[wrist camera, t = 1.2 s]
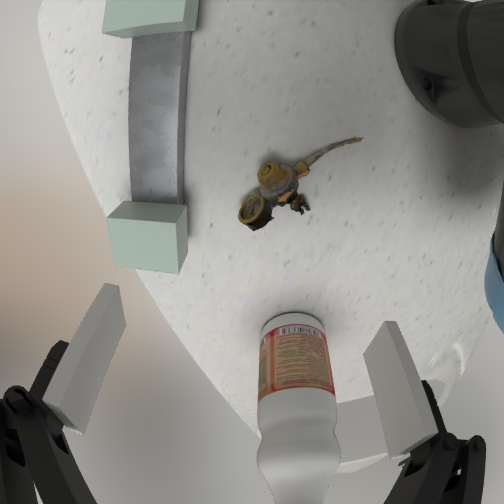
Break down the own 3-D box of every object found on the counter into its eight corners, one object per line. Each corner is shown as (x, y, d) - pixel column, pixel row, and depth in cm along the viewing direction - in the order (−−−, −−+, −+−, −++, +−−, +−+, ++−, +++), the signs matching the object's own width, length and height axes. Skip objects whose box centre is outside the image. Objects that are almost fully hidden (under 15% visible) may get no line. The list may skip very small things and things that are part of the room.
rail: (197, -11, 17) (190, -19, 15) (184, 239, 32) (179, 251, 30) (149, -5, 17) (139, -11, 15) (145, 235, 32) (137, 246, 30)
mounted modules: (202, -19, 15) (191, -35, 12) (188, 252, 30) (178, 274, 27) (130, -10, 15) (110, -20, 12) (129, 245, 30) (115, 266, 27)
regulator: (341, 107, 24) (217, 190, 27) (364, 119, 22) (226, 211, 24) (362, 160, 30) (256, 233, 32) (383, 177, 27) (267, 256, 30)
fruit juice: (304, 300, 36) (324, 527, 13) (334, 337, 40) (360, 521, 17) (247, 328, 40) (230, 529, 16) (282, 359, 43) (283, 529, 20)
